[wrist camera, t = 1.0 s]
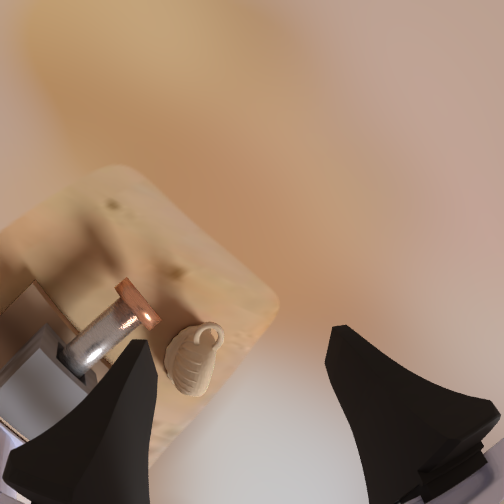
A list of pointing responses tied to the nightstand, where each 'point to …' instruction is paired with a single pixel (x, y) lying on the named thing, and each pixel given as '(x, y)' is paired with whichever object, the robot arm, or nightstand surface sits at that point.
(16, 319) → the housing
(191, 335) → the cream ribbed curved piece
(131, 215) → the nightstand surface
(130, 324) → the shaft
